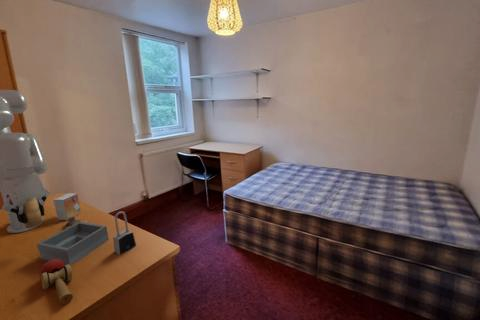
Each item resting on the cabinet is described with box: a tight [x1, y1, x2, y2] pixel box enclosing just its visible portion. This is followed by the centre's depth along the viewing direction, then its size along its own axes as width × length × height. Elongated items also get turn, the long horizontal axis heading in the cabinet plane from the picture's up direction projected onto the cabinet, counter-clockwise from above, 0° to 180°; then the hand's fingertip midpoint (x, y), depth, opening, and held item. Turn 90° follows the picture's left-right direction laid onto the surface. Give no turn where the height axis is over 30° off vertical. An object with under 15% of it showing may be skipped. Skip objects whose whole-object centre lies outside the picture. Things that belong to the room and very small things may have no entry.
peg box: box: [36, 221, 109, 267], centre depth 88 cm, size 14×16×6 cm
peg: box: [23, 196, 44, 229], centre depth 86 cm, size 5×5×11 cm
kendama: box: [40, 259, 74, 305], centre depth 70 cm, size 8×6×18 cm
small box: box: [53, 192, 82, 221], centre depth 114 cm, size 8×6×10 cm
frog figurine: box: [61, 217, 91, 231], centre depth 105 cm, size 12×12×4 cm
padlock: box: [112, 211, 137, 256], centre depth 87 cm, size 7×4×15 cm, turn 145°
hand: (32, 218), depth 87 cm, fingers closed on peg, 5 cm apart
